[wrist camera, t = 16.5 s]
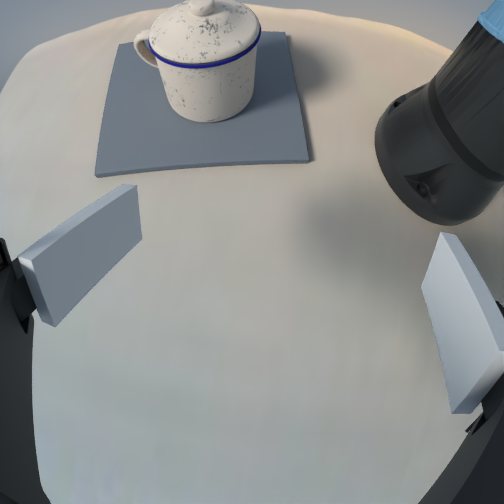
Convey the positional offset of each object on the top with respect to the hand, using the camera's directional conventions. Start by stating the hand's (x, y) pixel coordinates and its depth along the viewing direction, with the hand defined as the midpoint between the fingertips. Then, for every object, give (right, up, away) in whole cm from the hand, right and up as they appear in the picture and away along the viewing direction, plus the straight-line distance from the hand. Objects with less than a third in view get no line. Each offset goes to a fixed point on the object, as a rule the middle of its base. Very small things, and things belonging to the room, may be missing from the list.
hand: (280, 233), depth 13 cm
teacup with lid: (-7, +16, +17) cm, 24 cm away
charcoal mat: (-7, +16, +17) cm, 24 cm away
